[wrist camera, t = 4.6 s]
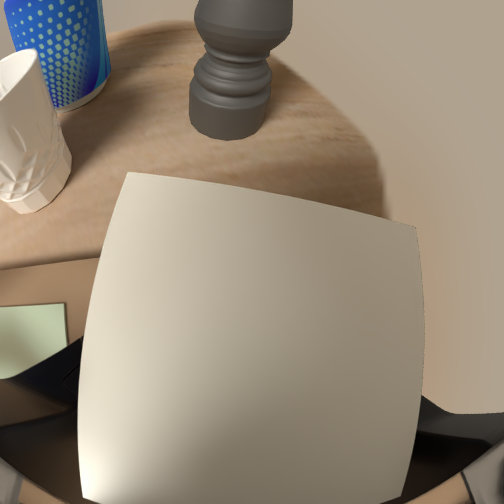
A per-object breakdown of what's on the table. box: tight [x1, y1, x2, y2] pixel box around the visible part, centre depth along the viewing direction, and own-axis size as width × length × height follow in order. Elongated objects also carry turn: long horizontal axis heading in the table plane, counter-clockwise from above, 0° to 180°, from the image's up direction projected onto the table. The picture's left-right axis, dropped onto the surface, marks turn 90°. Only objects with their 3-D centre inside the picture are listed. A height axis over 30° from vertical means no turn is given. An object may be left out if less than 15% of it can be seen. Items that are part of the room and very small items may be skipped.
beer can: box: [4, 0, 111, 113], centre depth 12 cm, size 8×8×16 cm
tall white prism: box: [78, 172, 424, 504], centre depth 8 cm, size 6×5×11 cm
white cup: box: [0, 49, 72, 214], centre depth 11 cm, size 8×8×10 cm
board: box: [0, 257, 100, 379], centre depth 11 cm, size 12×22×6 cm, turn 100°
